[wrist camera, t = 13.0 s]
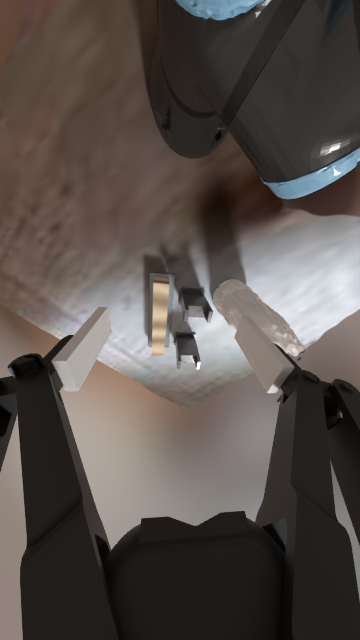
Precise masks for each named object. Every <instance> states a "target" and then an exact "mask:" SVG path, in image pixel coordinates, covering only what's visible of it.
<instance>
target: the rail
mask: <svg viewBox="0 0 360 640" xmlns="http://www.w3.org/2000/svg"><path fill="white" fill-rule="evenodd" d="M169 285H170V283H169V279H166V278H155V279H154V283H153V322H152V355H164V349H165V336H166V324H167V311H168V298H169Z"/></svg>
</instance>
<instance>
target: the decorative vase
mask: <svg viewBox="0 0 360 640" xmlns="http://www.w3.org/2000/svg"><path fill="white" fill-rule="evenodd" d="M213 304H214V306H215V308H216V309H217V311H218V313H219V314H220V315H222V316H223V317H224V318H225V320H226V321H227V323H228V324H229V325H230V326H231V327H232V328H234V329H236V330H237V329H238V326H239V323H240V320H241V318H242V316H250V318H251V319H252V320H253V321H254V322H255V323H256V324H257V325H258V327H259V328H260V329H261V330H262V331H263V332H264V333H265V334H266V336H267V337H268V338H269V339H270V340H271V341H272V342H273V343H276V344H277V345H278V346H280V347H281V348H282V349H283V350H284V351H285V352H286V351H287V352H288V353H290V354H291V355H293V356H297V355H298V353H299V352H302V351H304V348H303V345H302V344H301V343H300V342H299V340H298V338H297V336H296V335H295V333H294V332H293V330H292V329H291V328H290V325H289V324H288V323H287V322H286V321H285V320H284V318H283V317H281V316H280V315H279V314H278V313H276V312H275V311H274V310H273V309H271V308H270V307H269V306H267V305H266V304H265V303H263V302H262V300H261V299H260V298H259V296H258V295H257V294H256V293H254V292H253V291H252V290H251V288H250V287H248V286H247V285H246V284H244V283H243V282H241V281H239V280H236V279H229V280H226V281H224V282H223V283H221V284H220V285H219V287H218V288H217V289H216V290H215V292H214V295H213ZM287 352H286V353H287Z"/></svg>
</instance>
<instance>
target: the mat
mask: <svg viewBox="0 0 360 640" xmlns="http://www.w3.org/2000/svg"><path fill="white" fill-rule="evenodd" d="M155 278H166V279H169V283H170V285H169V298H168V311H167V324H166V336H165V347H167V348H169V337H170V326H171V316H172V305H173V294H174V284H175V275H171V274H160V273H150V283H149V347H152V322H153V283H154V279H155Z"/></svg>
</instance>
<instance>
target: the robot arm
mask: <svg viewBox="0 0 360 640" xmlns="http://www.w3.org/2000/svg"><path fill="white" fill-rule="evenodd" d="M156 4H157V20H158V36H157V39H156V43H155V46H154V50H153V55H152V61H151V71H150V90H151V99H152V107H153V112H154V116H155V120H156V123H157V126H158V128H159V131H160V133H161V135H162V137H163V138H164V140H165V141H166V143H167V144H168V145H169V146H170V148H171V149H172V150H174V151H175V152H176V153H178V154H179V155H181V156H183V157H186V158H200V157H203V156H206V155H208V154H209V153H211V152H212V151H213V150H215V149H216V148H217V147H218V145H219V144H220V143H221V142H222V140H223V139H224V137H225V135H226V134H227V132H228V130H229V132H230V133H231V135H232V136H233V137H234V139H235V140H236V142H237V143H238V145H239V146H240V147H241V149H242V150H243V152H244V153H245V154H246V156H247V157H248V159H249V160H250V161H251V163H252V164H253V166H254V167H255V168H256V170H257V171H258V173H259V174H260V178H261V180H262V182H263V183H264V184H266V185H268V186H269V187H270V189H271V190H272V191H273V192H274V194H275V195H276V196H278V197H281V198H283V199H293V198H298V197H302V196H304V195H307V194H310V193H312V192H314V191H316V190H319V189H320V188H323V187H324V186H326V185H328V184H330V183H332V182H333V181H335V180H336V179H338V178H340V177H341V176H343V175H344V174H346V173H347V172H349V171H350V170H352V169H353V168H354V167H355V166H356V164H357V162H358V161H360V0H156ZM111 332H112V331H111V325H110V319H109V312H108V308H107V307H99V308H98V309H97V310H96V311H95V312H94V313H93V314H92V316H91V317H90V318H89V319H88V320H87V321H86V322H85V323H84V325H83V326H82V327H81V328H80V329H79V330H78V331H77V333H76V334H75V335H68V336H66V337H65V338H63V339H61V340H60V341H59V342H58V344H57V345H56V346H55V347H54V348H53V349H52V350H51V351H50V352H49V353H48V354H47V355H46V356H45V357H44V358H43V359H42V357H41V355H39V354H35V353H34V354H27V355H23V356H21V357H18V358H17V359H15V360H14V361H12V362H11V363H10V364H9V366H8V370H9V371H10V373H11V374H12V375H13V376H10V377H5V378H0V471H1V467H2V464H3V461H4V457H5V454H6V451H7V447H8V444H9V440H10V437H11V434H12V430H13V427H14V423H15V420H16V416H17V413H18V425H19V438H20V452H21V464H22V478H23V491H24V504H25V517H26V531H27V547H26V550H25V553H24V555H23V557H22V562H21V567H20V588H21V608H22V629H23V640H360V602H359V594H358V587H357V580H356V573H355V567H354V560H353V553H352V546H351V542H350V538H349V535H348V533H347V531H346V529H345V528H344V527H343V526H342V525H341V524H340V523H339V522H338V520H337V518H336V514H335V504H334V494H333V485H332V475H331V465H330V460H331V463H332V466H333V469H334V472H335V475H336V477H337V481H338V483H339V486H340V489H341V492H342V495H343V498H344V501H345V504H346V507H347V510H348V513H349V516H350V518H351V521H352V524H353V527H354V530H355V533H356V536H357V539H358V542H359V545H360V392H359V391H358V390H357V389H356V388H355V387H354V386H353V385H351V384H349V383H348V382H346V381H343V380H339V379H335V380H334V381H333V382H332V383H327V382H324V381H321V380H320V379H319V378H318V377H317V376H316V375H314V374H312V373H311V372H308V371H305V370H302V369H301V368H300V367H299V366H298V365H297V364H296V363H295V362H294V361H293V360H292V359H291V357H289V355H288V354H287V353H286V352H285V351H284V350H283V349H282V348H281V347H280V346H278V345H277V344H276V343H273V342H272V341H271V340H270V339H269V338H268V337H267V336H266V334H265V333H264V332H263V331H262V330H261V329H260V328H259V327H258V325H257V324H256V323H255V322H254V321H253V320H252V319H251V318H250V316H242V318H241V320H240V323H239V326H238V329H237V332H236V334H235V339H236V341H237V343H238V344H239V346H240V348H241V349H242V351H243V353H244V354H245V356H246V358H247V360H248V361H249V363H250V365H251V366H252V368H253V370H254V372H255V373H256V375H257V377H258V378H259V380H260V382H261V383H262V385H263V387H264V389H265V390H266V392H267V393H277V392H278V390H279V389H280V388H281V389H282V391H283V393H282V395H281V396H280V397H279V399H278V400H277V402H279V401H280V406H279V412H278V418H277V424H276V429H275V435H274V441H273V447H272V452H271V458H270V464H269V471H268V476H267V482H266V488H265V493H264V499H263V502H262V504H261V507H260V509H259V511H258V514H257V517H256V521H255V522H253V521H251V520H250V519H248V518H246V515H245V511H239V512H238V511H237V512H224V513H219V514H218V515H216V516H214V517H212V518H210V519H209V520H207V521H205V522H203V523H202V524H200V525H198V526H193V525H190V524H187V523H184V522H181V521H179V520H176V519H173V518H171V517H156V518H142V519H141V524H139V525H138V526H136V527H134V528H133V529H132V530H130V531H129V532H127V534H125V535H124V536H123V537H122V538H121V539H120V540H119V541H118V543H117V544H116V545H115V546H114V548H113V549H112V550H111V548H110V545H109V542H108V539H107V536H106V533H105V530H104V527H103V524H102V521H101V519H100V517H99V514H98V512H97V509H96V506H95V503H94V500H93V496H92V493H91V490H90V486H89V483H88V480H87V477H86V474H85V470H84V467H83V464H82V461H81V458H80V454H79V451H78V449H77V445H76V442H75V439H74V435H73V432H72V429H71V426H70V423H69V419H68V416H67V413H66V410H65V407H64V403H63V400H62V397H61V394H60V392H59V391H60V389H61V388H62V387H63V386H64V389H65V391H79V389H80V387H81V386H82V384H83V382H84V380H85V378H86V377H87V375H88V373H89V371H90V369H91V368H92V366H93V364H94V362H95V360H96V359H97V357H98V355H99V353H100V352H101V350H102V348H103V346H104V344H105V343H106V341H107V339H108V337H109V335H110V334H111ZM341 412H342V415H343V418H341V416H340V413H341Z"/></svg>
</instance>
